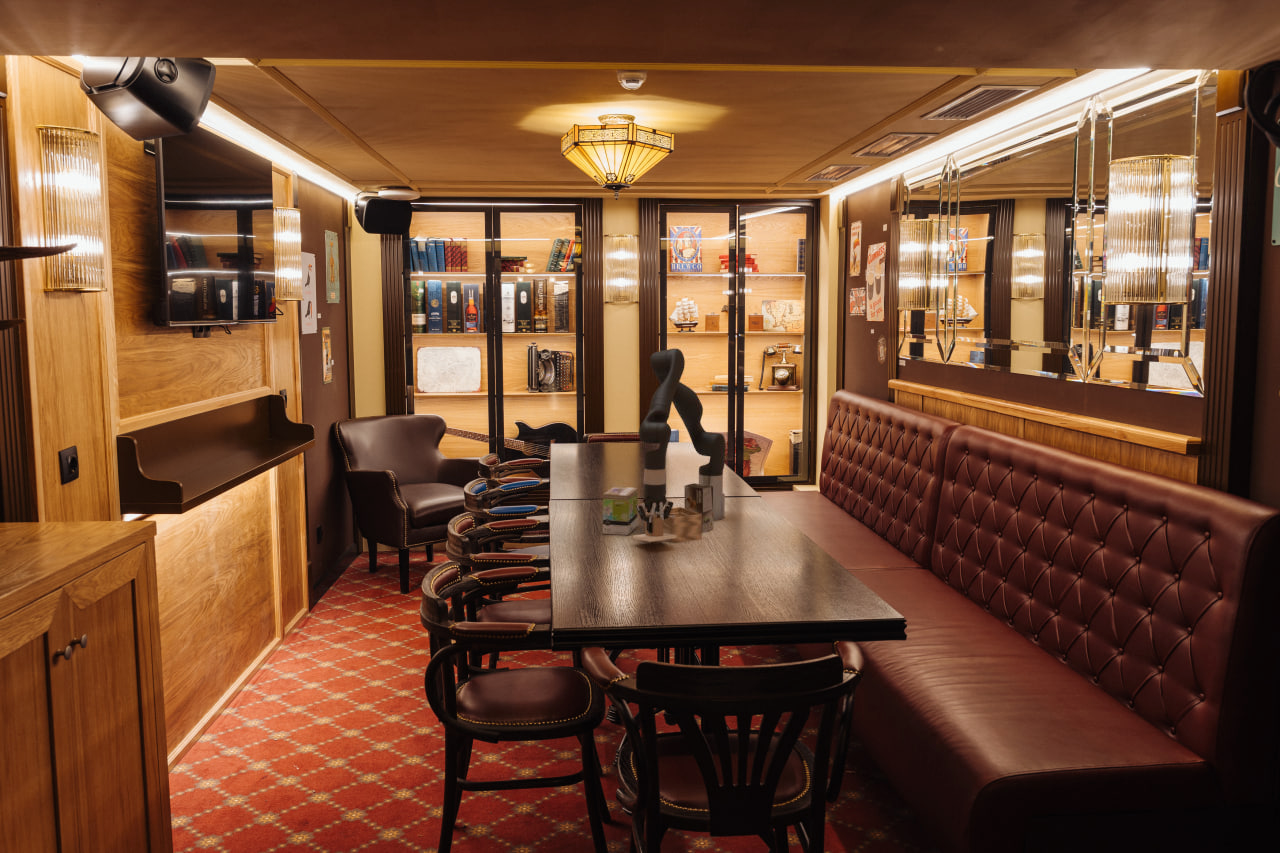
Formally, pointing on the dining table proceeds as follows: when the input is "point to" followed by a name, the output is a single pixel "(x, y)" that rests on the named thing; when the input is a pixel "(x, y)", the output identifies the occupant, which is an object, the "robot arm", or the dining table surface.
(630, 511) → the tea box
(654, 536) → the lid
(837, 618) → the dining table surface
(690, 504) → the coffee box
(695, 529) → the crate
